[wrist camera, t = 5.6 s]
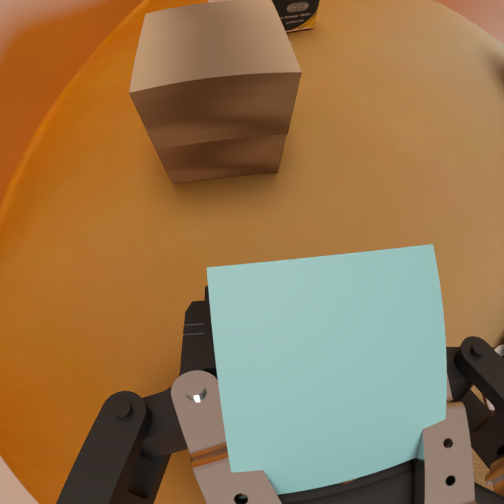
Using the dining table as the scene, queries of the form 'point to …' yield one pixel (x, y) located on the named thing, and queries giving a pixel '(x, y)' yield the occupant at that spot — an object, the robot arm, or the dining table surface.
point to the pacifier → (503, 351)
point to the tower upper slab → (214, 73)
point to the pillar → (328, 363)
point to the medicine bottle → (294, 13)
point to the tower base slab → (223, 158)
